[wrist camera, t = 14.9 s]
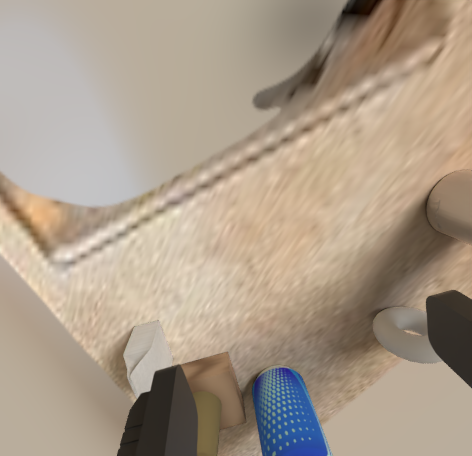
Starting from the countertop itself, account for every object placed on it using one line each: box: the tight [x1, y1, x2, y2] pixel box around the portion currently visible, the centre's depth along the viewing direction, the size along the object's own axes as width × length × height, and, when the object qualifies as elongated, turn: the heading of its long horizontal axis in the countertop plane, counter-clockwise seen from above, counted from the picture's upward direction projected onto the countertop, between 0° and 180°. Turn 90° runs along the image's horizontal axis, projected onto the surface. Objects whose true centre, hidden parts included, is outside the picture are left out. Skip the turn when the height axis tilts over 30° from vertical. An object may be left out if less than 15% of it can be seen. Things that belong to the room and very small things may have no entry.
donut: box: [373, 307, 443, 363], centre depth 41 cm, size 10×3×10 cm, turn 94°
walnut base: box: [181, 352, 246, 430], centre depth 45 cm, size 10×10×4 cm
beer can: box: [252, 365, 333, 456], centre depth 40 cm, size 8×8×16 cm
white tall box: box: [123, 320, 173, 399], centre depth 39 cm, size 4×7×10 cm, turn 14°
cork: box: [192, 391, 222, 456], centre depth 38 cm, size 6×6×11 cm
